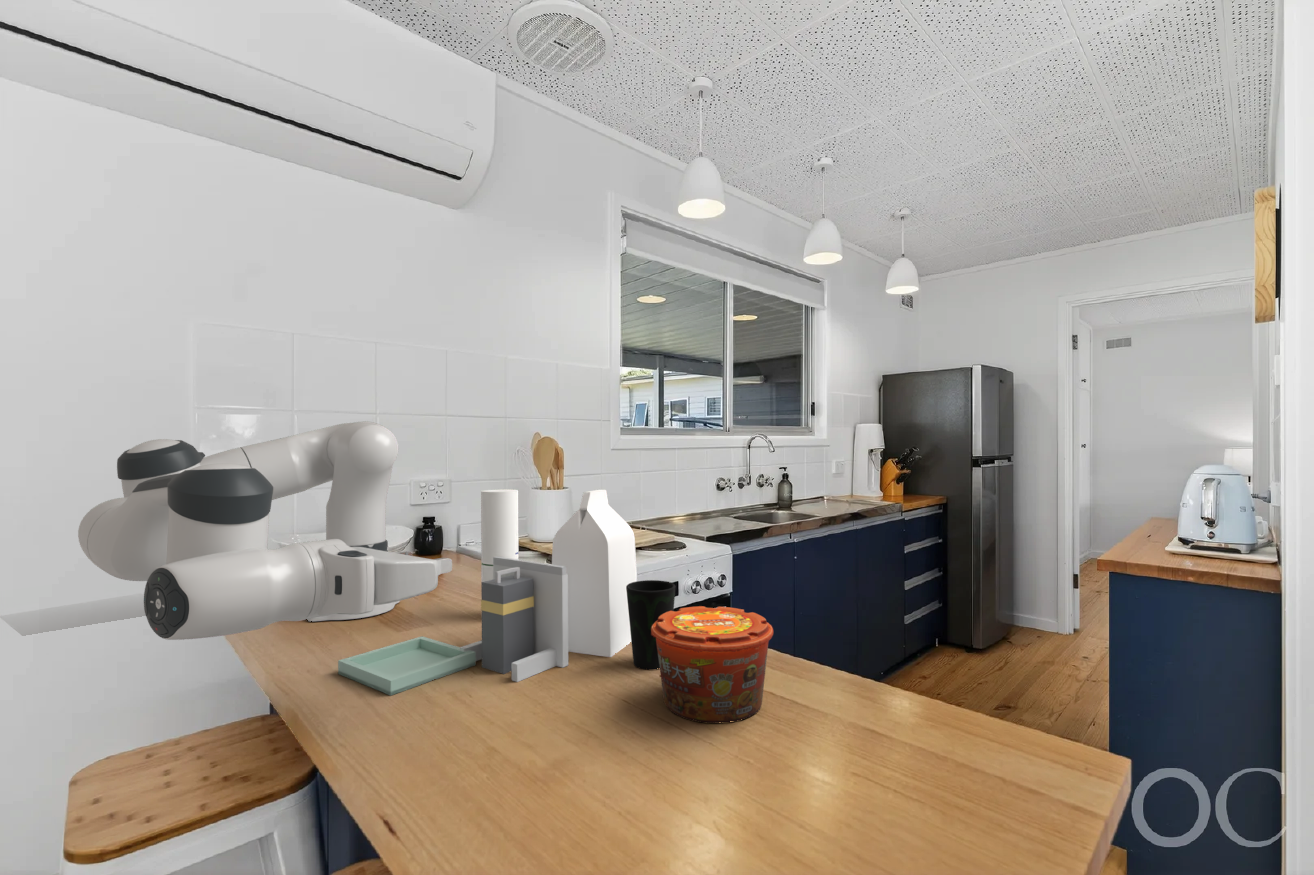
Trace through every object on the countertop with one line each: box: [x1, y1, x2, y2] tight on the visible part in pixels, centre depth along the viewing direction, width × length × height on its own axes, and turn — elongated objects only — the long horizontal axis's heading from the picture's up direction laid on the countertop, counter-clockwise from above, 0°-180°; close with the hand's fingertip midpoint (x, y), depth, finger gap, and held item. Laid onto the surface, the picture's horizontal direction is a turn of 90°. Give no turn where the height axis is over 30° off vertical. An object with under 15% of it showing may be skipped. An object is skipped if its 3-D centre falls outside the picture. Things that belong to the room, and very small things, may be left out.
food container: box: [651, 605, 774, 724], centre depth 80 cm, size 16×16×11 cm
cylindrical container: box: [480, 488, 519, 597], centre depth 121 cm, size 7×7×25 cm
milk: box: [551, 489, 638, 658], centre depth 105 cm, size 12×12×26 cm
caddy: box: [480, 567, 534, 675], centre depth 95 cm, size 5×6×15 cm
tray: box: [337, 635, 477, 696], centre depth 93 cm, size 14×14×2 cm
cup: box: [626, 579, 676, 671], centre depth 95 cm, size 8×8×12 cm
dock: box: [460, 556, 569, 683], centre depth 95 cm, size 16×9×15 cm, turn 54°
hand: (428, 560), depth 84 cm, fingers open, 8 cm apart
